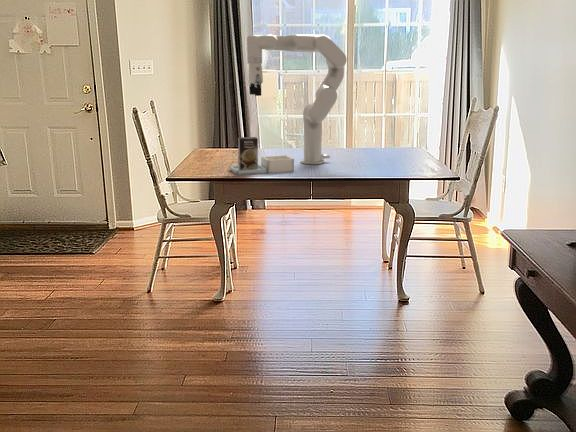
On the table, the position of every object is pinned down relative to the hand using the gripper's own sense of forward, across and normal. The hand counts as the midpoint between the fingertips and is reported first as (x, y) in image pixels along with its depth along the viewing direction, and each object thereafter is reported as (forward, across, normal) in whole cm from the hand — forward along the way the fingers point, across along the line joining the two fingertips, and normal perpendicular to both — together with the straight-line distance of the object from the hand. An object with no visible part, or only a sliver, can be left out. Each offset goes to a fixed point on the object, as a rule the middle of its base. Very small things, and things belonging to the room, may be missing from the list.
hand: (255, 95), depth 295 cm
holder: (+36, -17, -6) cm, 40 cm away
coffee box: (+36, -17, +9) cm, 40 cm away
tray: (+36, -17, +10) cm, 41 cm away
